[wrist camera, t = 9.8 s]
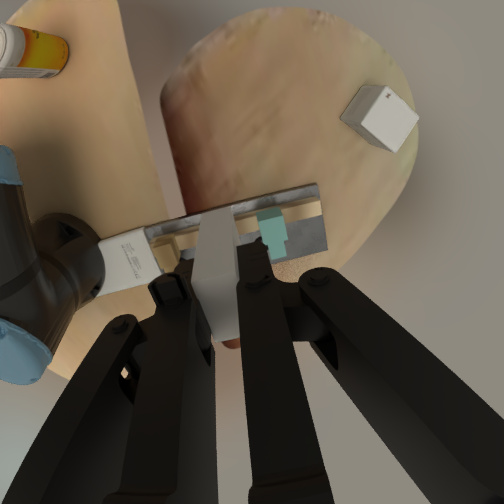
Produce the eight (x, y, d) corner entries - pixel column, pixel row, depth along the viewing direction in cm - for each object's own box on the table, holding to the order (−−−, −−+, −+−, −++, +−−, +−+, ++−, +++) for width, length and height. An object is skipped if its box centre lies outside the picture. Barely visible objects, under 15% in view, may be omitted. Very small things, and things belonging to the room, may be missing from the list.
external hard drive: (75, 248, 44) (145, 225, 44) (97, 292, 48) (165, 274, 47) (71, 253, 43) (142, 230, 42) (94, 298, 46) (164, 280, 46)
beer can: (64, 29, 30) (2, 10, 16) (75, 64, 33) (13, 56, 19) (30, 51, 30) (-36, 45, 17) (41, 86, 33) (-27, 90, 20)
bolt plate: (170, 285, 48) (169, 289, 47) (146, 226, 44) (144, 229, 43) (325, 246, 48) (327, 250, 47) (315, 182, 43) (317, 184, 42)
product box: (337, 118, 39) (359, 123, 33) (361, 84, 37) (386, 83, 31) (370, 145, 41) (395, 155, 35) (393, 112, 39) (421, 117, 33)
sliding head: (263, 247, 45) (268, 265, 41) (254, 207, 43) (258, 221, 38) (285, 241, 45) (292, 259, 41) (276, 201, 42) (283, 215, 38)
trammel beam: (164, 270, 46) (159, 289, 42) (150, 234, 43) (143, 251, 39) (321, 231, 45) (332, 246, 41) (315, 192, 43) (326, 204, 38)
